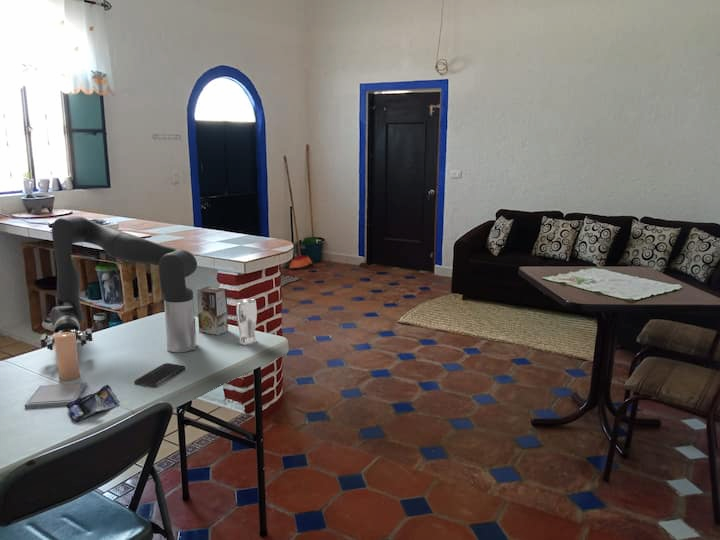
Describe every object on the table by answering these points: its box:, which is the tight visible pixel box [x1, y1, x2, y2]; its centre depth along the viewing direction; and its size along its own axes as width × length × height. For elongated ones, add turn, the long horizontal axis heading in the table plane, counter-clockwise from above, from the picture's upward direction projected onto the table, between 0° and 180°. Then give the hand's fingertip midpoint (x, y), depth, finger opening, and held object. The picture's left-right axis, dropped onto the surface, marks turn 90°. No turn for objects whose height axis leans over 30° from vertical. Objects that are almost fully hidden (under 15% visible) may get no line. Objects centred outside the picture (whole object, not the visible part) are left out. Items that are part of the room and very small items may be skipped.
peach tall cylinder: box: [54, 332, 81, 382], centre depth 161 cm, size 6×6×13 cm
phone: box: [133, 362, 187, 389], centre depth 164 cm, size 8×1×15 cm
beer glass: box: [235, 298, 258, 346], centre depth 192 cm, size 7×7×15 cm
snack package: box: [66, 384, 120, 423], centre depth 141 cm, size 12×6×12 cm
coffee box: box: [196, 286, 229, 336], centre depth 202 cm, size 9×6×16 cm
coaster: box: [24, 382, 88, 409], centre depth 149 cm, size 12×12×1 cm
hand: (67, 345), depth 168 cm, fingers open, 8 cm apart
